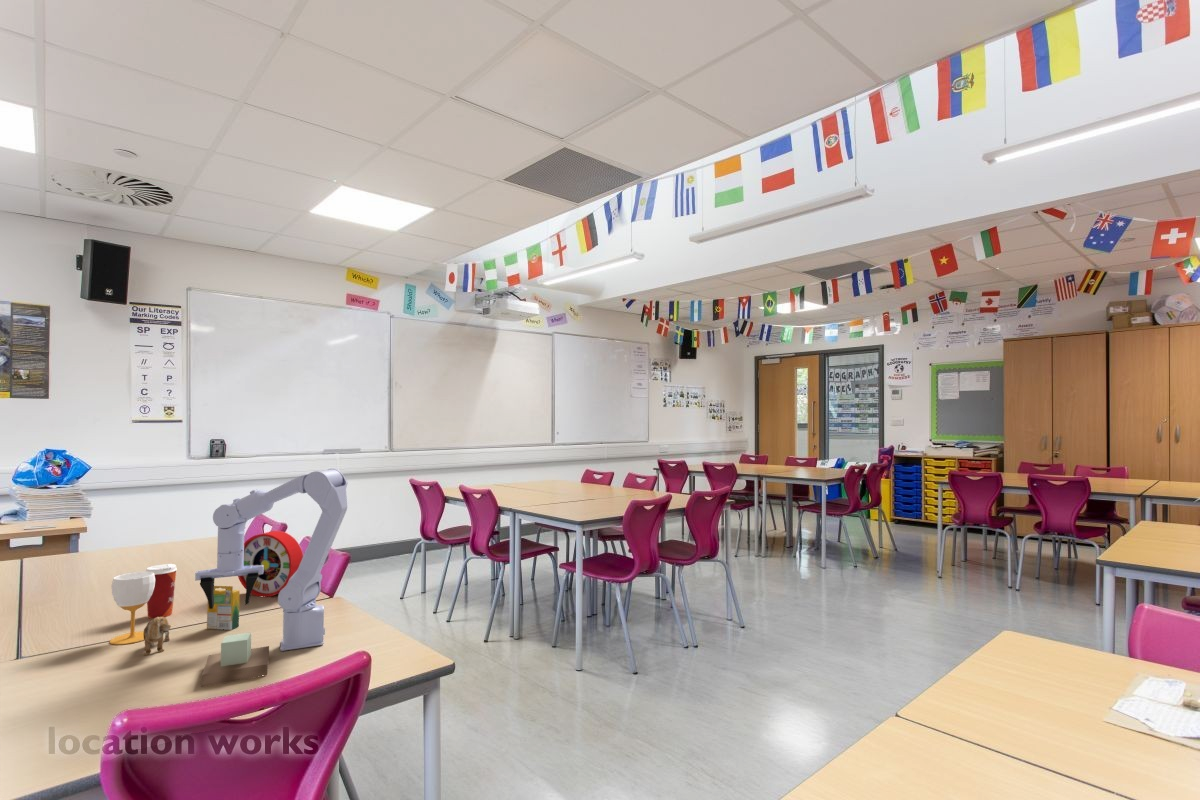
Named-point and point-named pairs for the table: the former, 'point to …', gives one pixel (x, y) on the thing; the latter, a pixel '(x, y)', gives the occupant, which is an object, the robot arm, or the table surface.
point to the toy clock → (272, 561)
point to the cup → (132, 600)
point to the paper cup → (162, 590)
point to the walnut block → (235, 668)
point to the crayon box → (224, 609)
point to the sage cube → (235, 649)
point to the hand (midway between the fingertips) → (229, 605)
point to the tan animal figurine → (156, 633)
